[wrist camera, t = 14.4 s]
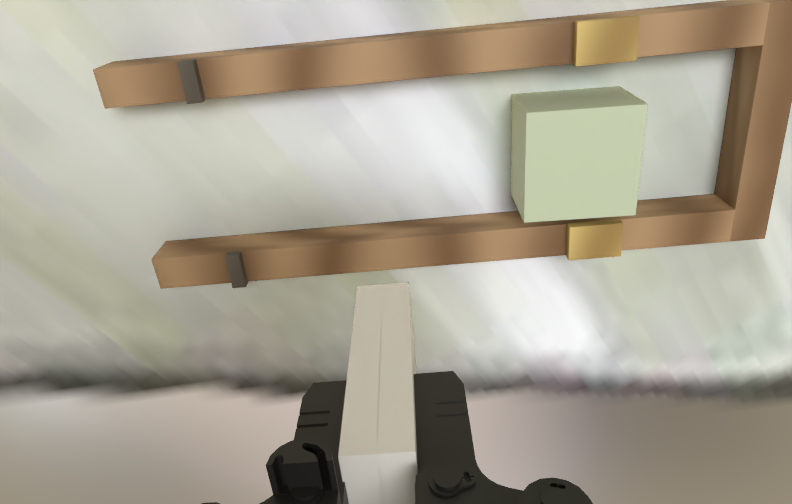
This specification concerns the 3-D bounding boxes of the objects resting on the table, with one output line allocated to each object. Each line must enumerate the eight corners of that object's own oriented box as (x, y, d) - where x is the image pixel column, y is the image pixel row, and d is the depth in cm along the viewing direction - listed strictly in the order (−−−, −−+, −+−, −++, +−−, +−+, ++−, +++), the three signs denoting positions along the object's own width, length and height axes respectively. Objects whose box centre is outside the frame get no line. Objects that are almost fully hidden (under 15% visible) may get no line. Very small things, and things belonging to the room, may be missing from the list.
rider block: (510, 192, 37) (523, 222, 33) (511, 93, 34) (526, 112, 30) (609, 186, 37) (635, 215, 33) (618, 85, 34) (647, 104, 30)
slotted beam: (174, 269, 39) (157, 294, 36) (113, 60, 33) (87, 70, 30) (742, 222, 38) (770, 243, 35) (782, -6, 32) (819, -2, 29)
